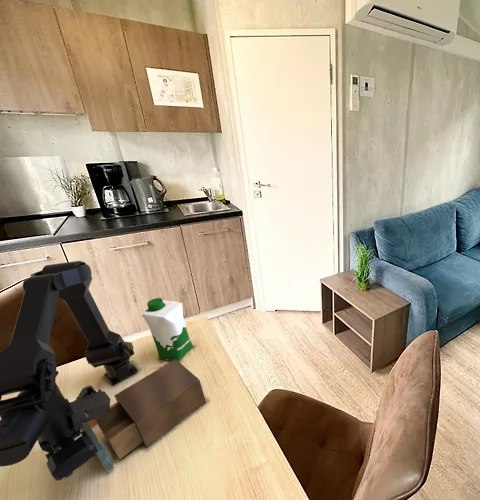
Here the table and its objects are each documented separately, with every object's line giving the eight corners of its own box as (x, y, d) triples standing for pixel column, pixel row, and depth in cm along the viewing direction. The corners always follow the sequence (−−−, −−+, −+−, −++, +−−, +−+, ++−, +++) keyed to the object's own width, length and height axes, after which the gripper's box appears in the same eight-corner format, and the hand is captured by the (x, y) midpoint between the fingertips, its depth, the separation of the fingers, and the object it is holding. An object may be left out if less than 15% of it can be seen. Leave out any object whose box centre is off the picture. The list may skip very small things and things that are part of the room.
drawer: (75, 496, 57) (62, 477, 54) (59, 461, 63) (46, 442, 60) (172, 423, 71) (165, 404, 68) (151, 399, 77) (144, 381, 74)
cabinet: (147, 447, 67) (136, 423, 63) (125, 418, 73) (114, 395, 70) (206, 402, 78) (199, 379, 74) (182, 380, 84) (175, 358, 81)
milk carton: (175, 341, 99) (159, 293, 91) (197, 345, 97) (184, 296, 89) (154, 360, 91) (135, 309, 83) (179, 364, 89) (162, 313, 81)
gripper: (115, 404, 56) (139, 453, 62) (83, 363, 65) (106, 409, 72) (36, 454, 47) (72, 505, 54) (12, 398, 57) (46, 447, 63)
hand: (77, 460), depth 61 cm, fingers closed, pressing on drawer
